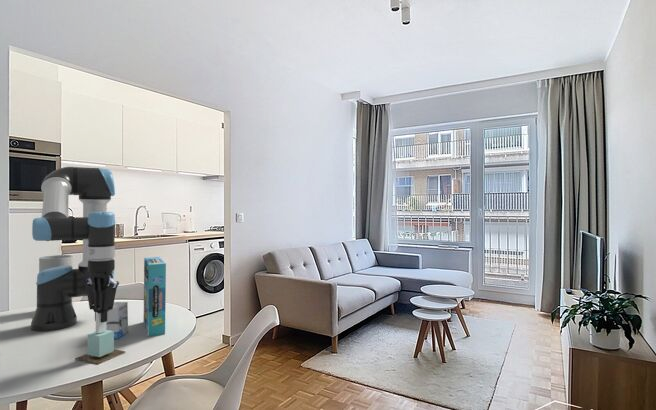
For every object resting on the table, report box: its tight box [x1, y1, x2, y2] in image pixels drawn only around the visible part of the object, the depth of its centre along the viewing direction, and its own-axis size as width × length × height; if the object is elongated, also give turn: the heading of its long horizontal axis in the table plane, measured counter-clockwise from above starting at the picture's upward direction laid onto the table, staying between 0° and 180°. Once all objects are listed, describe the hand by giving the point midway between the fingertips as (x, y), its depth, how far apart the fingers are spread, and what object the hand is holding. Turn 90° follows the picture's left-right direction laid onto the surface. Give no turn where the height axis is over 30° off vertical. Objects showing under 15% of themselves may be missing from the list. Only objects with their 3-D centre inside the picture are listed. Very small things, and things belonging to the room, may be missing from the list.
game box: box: [143, 256, 167, 337], centre depth 151 cm, size 20×6×27 cm, turn 30°
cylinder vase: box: [38, 254, 74, 273], centre depth 174 cm, size 12×12×25 cm
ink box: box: [106, 301, 129, 340], centre depth 142 cm, size 9×5×12 cm, turn 5°
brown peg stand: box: [74, 349, 127, 365], centre depth 123 cm, size 10×10×7 cm
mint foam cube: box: [87, 330, 115, 357], centre depth 123 cm, size 5×5×7 cm
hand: (101, 331), depth 123 cm, fingers closed
